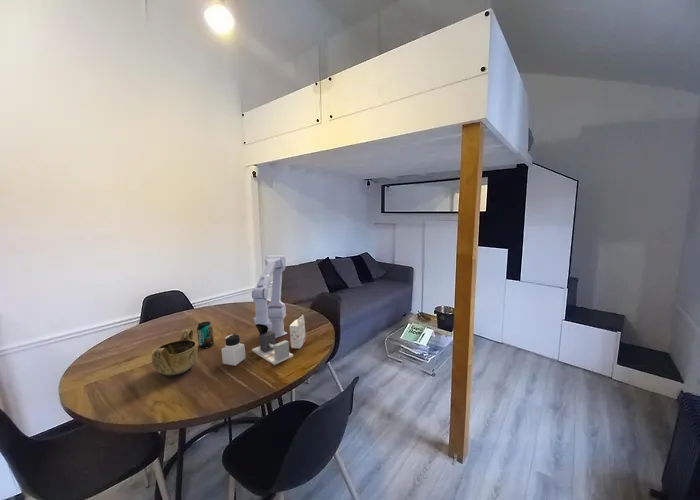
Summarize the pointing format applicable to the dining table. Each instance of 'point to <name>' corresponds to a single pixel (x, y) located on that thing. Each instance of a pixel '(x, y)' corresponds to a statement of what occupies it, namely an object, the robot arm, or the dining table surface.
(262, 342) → the grey square sleeve
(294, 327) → the ink cartridge box
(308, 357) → the dining table surface
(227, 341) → the medicine bottle
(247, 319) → the dining table surface
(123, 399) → the dining table surface
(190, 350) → the ceramic bowl
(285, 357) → the pipe stand
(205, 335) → the beverage can
